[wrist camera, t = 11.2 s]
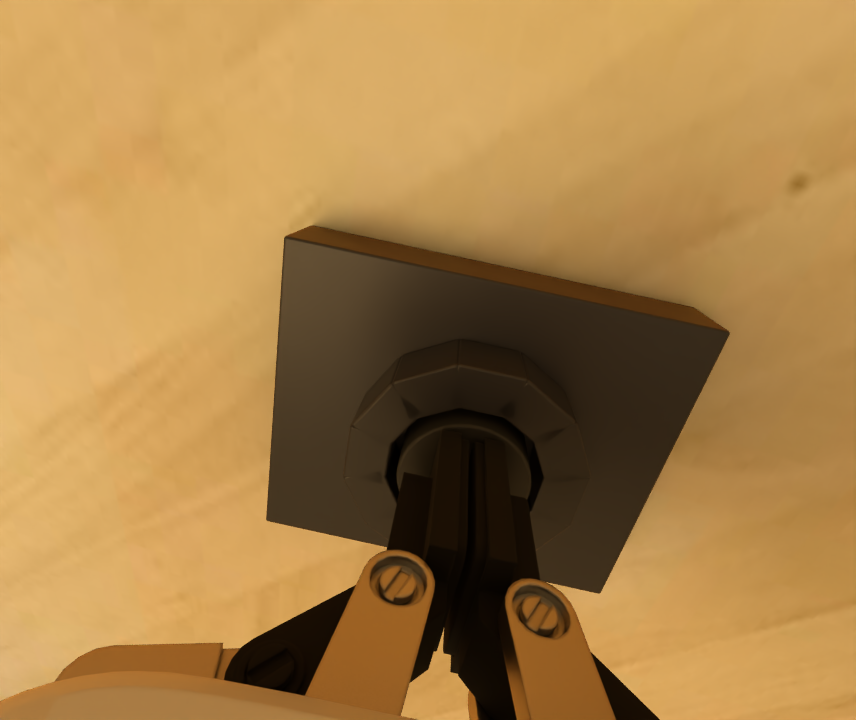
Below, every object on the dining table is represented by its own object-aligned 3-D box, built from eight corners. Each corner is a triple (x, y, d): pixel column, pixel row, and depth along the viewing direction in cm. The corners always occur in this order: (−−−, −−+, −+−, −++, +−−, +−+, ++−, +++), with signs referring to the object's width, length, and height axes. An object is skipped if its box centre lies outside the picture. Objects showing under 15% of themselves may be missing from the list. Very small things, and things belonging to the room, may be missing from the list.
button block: (695, 307, 14) (772, 359, 10) (586, 546, 18) (615, 644, 14) (310, 224, 14) (253, 247, 10) (288, 481, 18) (241, 562, 15)
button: (540, 407, 13) (549, 442, 12) (507, 504, 15) (511, 546, 13) (416, 381, 13) (408, 411, 12) (396, 480, 15) (386, 519, 13)
